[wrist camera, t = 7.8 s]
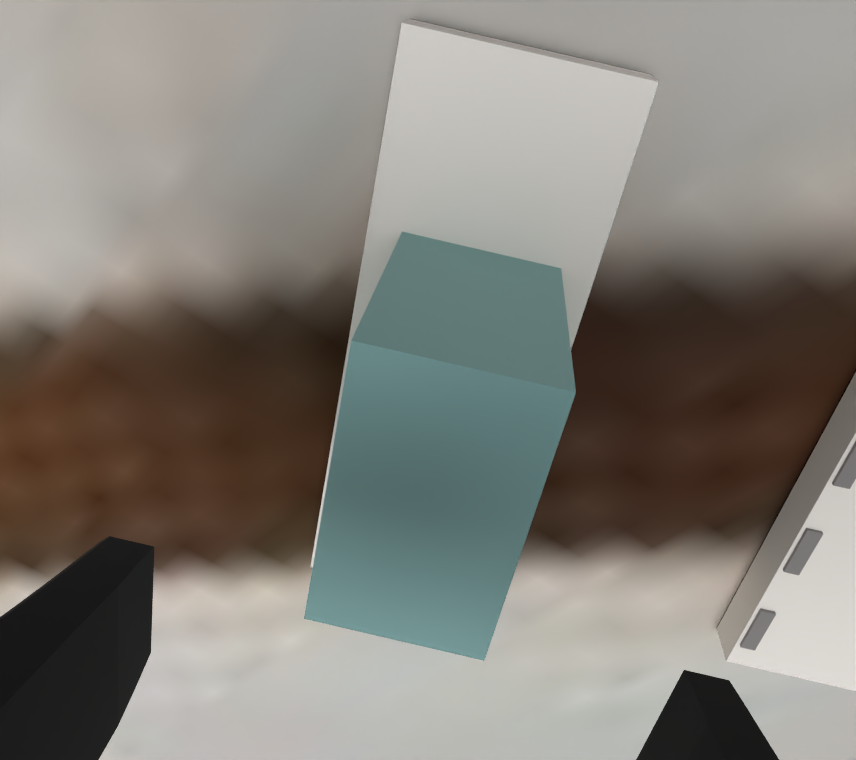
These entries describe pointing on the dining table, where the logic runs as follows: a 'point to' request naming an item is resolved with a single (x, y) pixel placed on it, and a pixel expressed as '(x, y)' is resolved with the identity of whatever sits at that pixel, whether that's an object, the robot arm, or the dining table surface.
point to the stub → (466, 328)
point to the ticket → (806, 571)
